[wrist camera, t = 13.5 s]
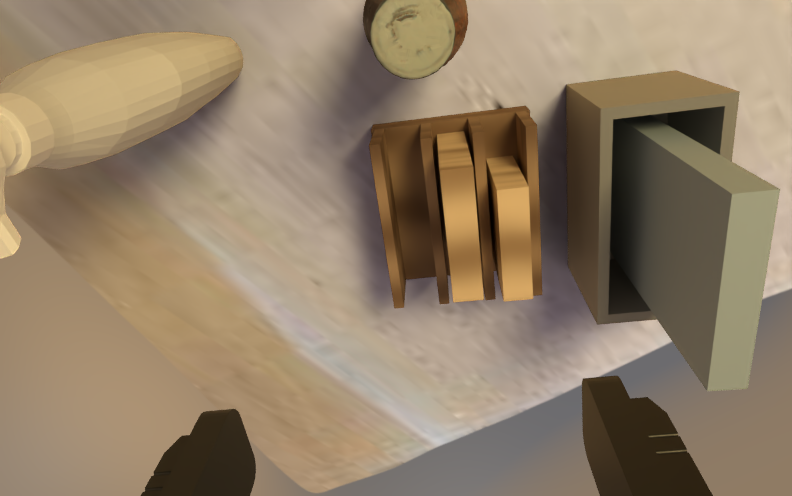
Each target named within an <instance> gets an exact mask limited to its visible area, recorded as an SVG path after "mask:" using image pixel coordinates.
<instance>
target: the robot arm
mask: <svg viewBox="0 0 792 496" xmlns="http://www.w3.org/2000/svg"><path fill="white" fill-rule="evenodd" d="M582 410H583V411H582V417H583V439H584V445H585V450H586V454H587V458H588V461H589V464H590V467H591V470H592V473H593V476H594V479H595V482H596V485H597V488H598V491H599V494H600V496H713V495H712V493H711V492H710V490H709V488H708V486H707V484H706V483H705V481H704V479H703V477H702V475H701V474H700V472H699V470H698V468H697V466H696V465H695V463H694V461H693V459H692V458H691V456H690V454H689V453H687V449H686V447H685V445H684V443H683V441H682V440H681V438H680V436H678V432H677V431H676V429H675V427H674V425H673V424H672V422H671V420H670V418H669V416H668V414H667V413H666V412H665V411H664V410H662V409H661V408H660V407H659V406H658V405H656V404H655V403H654V402H653V401H651V400H650V399H649V398H648V397H644V398H632V399H630V398H629V396H628V393H627V391H626V389H625V387H624V385H623V383H622V381H621V379H620V378H619V377H618V376H607V377H596V378H585V379H583V381H582ZM255 473H256V465H255V458H254V454H253V451H252V448H251V446H250V443H249V440H248V437H247V434H246V431H245V428H244V425H243V422H242V419H241V417H240V414H239V412H238V411H237V410H236V409H228V410H217V411H206V412H203V413H202V414H201V415H200V417H199V419H198V420H197V422H196V424H195V426H194V428H193V430H192V432H191V434H190V435H186V436H181V437H180V438H179V439H178V440H177V441H176V442H175V443H174V444H173V445H172V446H171V447H170V448H169V449H168V450H167V451H166V452H165V453H164V455H163V456H162V458H161V460H160V462H159V464H158V465H157V467H156V469H155V471H154V476H151V478H150V480H149V482H148V484H147V485H146V487H145V492H143V493H142V494H141V496H250V493H251V491H252V488H253V484H254V480H255Z"/></svg>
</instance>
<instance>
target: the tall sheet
mask: <svg viewBox="0 0 792 496" xmlns="http://www.w3.org/2000/svg"><path fill="white" fill-rule="evenodd" d="M779 192H780V189H779V188H777V187H775V186H773V185H772V184H770V183H768V182H766V181H765V180H763V179H761V178H759V177H758V176H756V175H754V174H752V173H751V172H749V171H747V170H745V169H744V168H742V167H740V166H738V165H737V164H735V163H733V162H731V161H730V160H728V159H726V158H724V157H723V156H721V155H719V154H717V153H716V152H714V151H712V150H710V149H709V148H707V147H705V146H703V145H702V144H700V143H698V142H696V141H695V140H693V139H691V138H689V137H688V136H686V135H684V134H682V133H681V132H679V131H677V130H675V129H674V128H672V127H670V126H668V125H667V124H665V123H663V122H661V121H660V120H658V119H656V118H654V117H653V116H651V115H645V116H637V117H629V118H620V119H613V142H612V183H611V224H610V252H611V253H612V255H613V256H614V258H615V259H616V261H617V262H618V264H619V265H620V266H621V268H622V269H623V271H624V272H625V274H626V275H627V277H628V278H629V279H630V281H631V282H632V284H633V285H634V287H635V288H636V289H637V291H638V292H639V294H640V295H641V297H642V298H643V300H644V301H645V302H646V304H647V305H648V307H649V308H650V310H651V311H652V312H653V314H654V315H655V317H656V318H657V320H658V321H659V323H660V324H661V325H662V327H663V328H664V330H665V331H666V333H667V334H668V336H669V337H670V338H671V340H672V341H673V343H674V344H675V346H676V347H677V348H678V350H679V351H680V353H681V354H682V355H683V357H684V359H685V360H686V361H687V363H688V364H689V366H690V367H691V369H692V370H693V371H694V373H695V374H696V376H697V377H698V379H699V380H700V381H701V383H702V384H703V386H704V387H705V389H706V390H707V391H718V390H733V389H747V388H748V383H749V376H750V371H751V364H752V358H753V352H754V346H755V340H756V333H757V328H758V321H759V315H760V309H761V303H762V297H763V291H764V284H765V278H766V272H767V266H768V260H769V254H770V248H771V241H772V235H773V229H774V223H775V217H776V211H777V205H778V198H779Z"/></svg>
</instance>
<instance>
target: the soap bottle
mask: <svg viewBox="0 0 792 496" xmlns="http://www.w3.org/2000/svg"><path fill="white" fill-rule="evenodd" d="M242 68H243V56H242V52H241V50H240V48H239V46H238V45H237V43H236V42H235V41H233V40H232V39H231V38H230V37H223V36H216V35H209V34H201V33H193V32H164V33H143V34H138V35H132V36H127V37H122V38H118V39H113V40H108V41H104V42H99V43H95V44H91V45H87V46H83V47H79V48H75V49H71V50H68V51H64V52H60V53H57V54H55V55H52V56H49V57H47V58H44V59H42V60H39V61H36V62H34V63H31V64H29V65H27V66H25V67H23V68H21V69H19V70H17V71H15V72H13V73H11V74H9V75H8V76H6V77H5V78H4V80H3V81H2V82H1V84H0V259H1V258H5V257H8V256H11V255H13V254H14V253H15V252H16V251H17V249H18V248H19V246H20V241H21V236H20V235H19V233H18V232H17V230H16V229H15V227H14V225H13V224H12V222H11V221H10V219H9V218H8V216H7V214H6V211H5V198H4V182H5V176H12V175H16V174H18V173H21V172H23V171H25V170H27V169H29V168H32V167H34V166H37V167H43V168H50V169H59V170H62V169H67V168H71V167H75V166H79V165H84V164H87V163H90V162H93V161H97V160H100V159H103V158H106V157H109V156H112V155H115V154H117V153H120V152H122V151H124V150H126V149H128V148H130V147H132V146H134V145H136V144H139V143H141V142H143V141H145V140H147V139H149V138H151V137H153V136H155V135H157V134H159V133H161V132H163V131H165V130H167V129H169V128H171V127H173V126H175V125H177V124H179V123H181V122H183V121H185V120H187V119H188V118H189V117H190V116H192V115H193V114H194V113H195V112H197V111H198V110H199V109H200V108H202V107H203V106H204V105H206V104H207V103H208V102H210V101H211V100H212V99H214V98H215V97H216V96H218V95H219V94H220V93H221V92H222V91H223V90H224V89H225V88H226V87H228V86H229V85H230V84H231V83H232V82H233V81H234V80H235V79H236V78H237V77H238V76H239V74H240V72H241V70H242Z"/></svg>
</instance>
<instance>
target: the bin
mask: <svg viewBox="0 0 792 496" xmlns="http://www.w3.org/2000/svg"><path fill="white" fill-rule="evenodd" d="M738 101H739V91H736V90H733V89H730V88H727V87H724V86H721V85H718V84H715V83H712V82H709V81H706V80H703V79H700V78H697V77H694V76H691V75H688V74H685V73H682V72H679V71H669V72H661V73H653V74H645V75H637V76H630V77H622V78H614V79H606V80H598V81H590V82H582V83H575V84H567V85H566V118H567V224H568V267H569V269H570V271H571V273H572V275H573V277H574V279H575V281H576V283H577V285H578V287H579V289H580V291H581V293H582V295H583V297H584V299H585V301H586V303H587V305H588V307H589V309H590V311H591V313H592V315H593V317H594V319H595V321H596V323H597V324H609V323H621V322H632V321H644V320H656V319H657V318H656V317H655V315H654V314H653V312H652V311H651V310H650V308H649V307H648V305H647V304H646V302H645V301H644V300H643V298H642V297H641V295H640V294H639V292H638V291H637V289H636V288H635V287H634V285H633V284H632V282H631V281H630V279H629V278H628V277H627V275H626V274H625V272H624V271H623V269H622V268H621V266H620V265H619V264H618V262H617V261H616V259H615V258H614V256H613V255H612V253H611V252H610V224H611V183H612V142H613V119H620V118H629V117H637V116H645V115H651V116H653V117H654V118H656V119H658V120H660V121H661V122H663V123H665V124H667V125H668V126H670V127H672V128H674V129H675V130H677V131H679V132H681V133H682V134H684V135H686V136H688V137H689V138H691V139H693V140H695V141H696V142H698V143H700V144H702V145H703V146H705V147H707V148H709V149H710V150H712V151H714V152H716V153H717V154H719V155H721V156H723V157H724V158H726V159H728V160H730V161H731V162H732V153H733V144H734V136H735V127H736V118H737V110H738Z"/></svg>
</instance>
